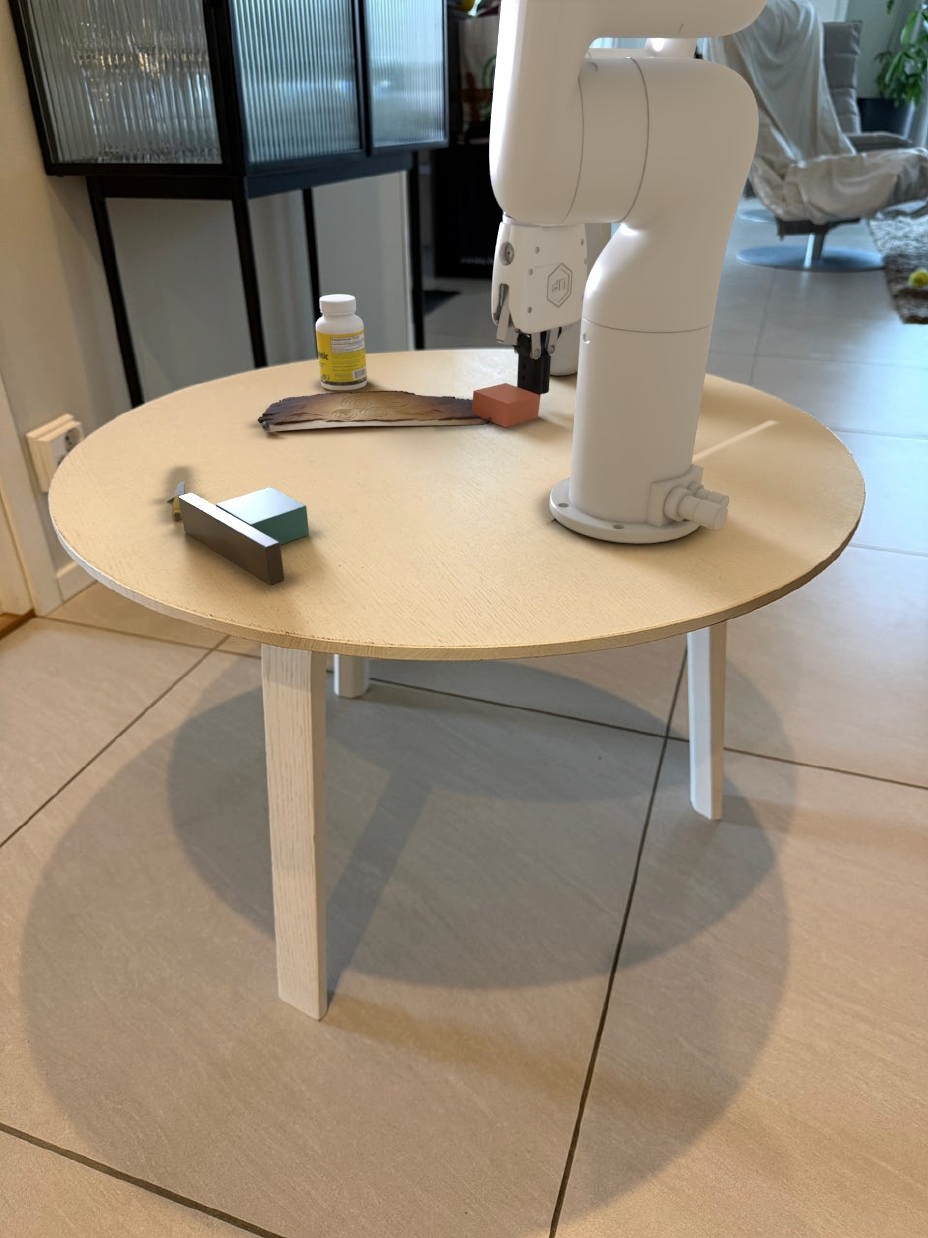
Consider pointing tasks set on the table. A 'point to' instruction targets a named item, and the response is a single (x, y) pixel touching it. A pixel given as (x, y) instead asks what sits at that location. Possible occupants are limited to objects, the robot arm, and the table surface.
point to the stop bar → (232, 538)
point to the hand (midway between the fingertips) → (532, 391)
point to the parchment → (367, 411)
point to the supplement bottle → (341, 344)
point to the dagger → (177, 501)
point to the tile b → (505, 404)
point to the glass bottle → (569, 340)
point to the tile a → (270, 514)
